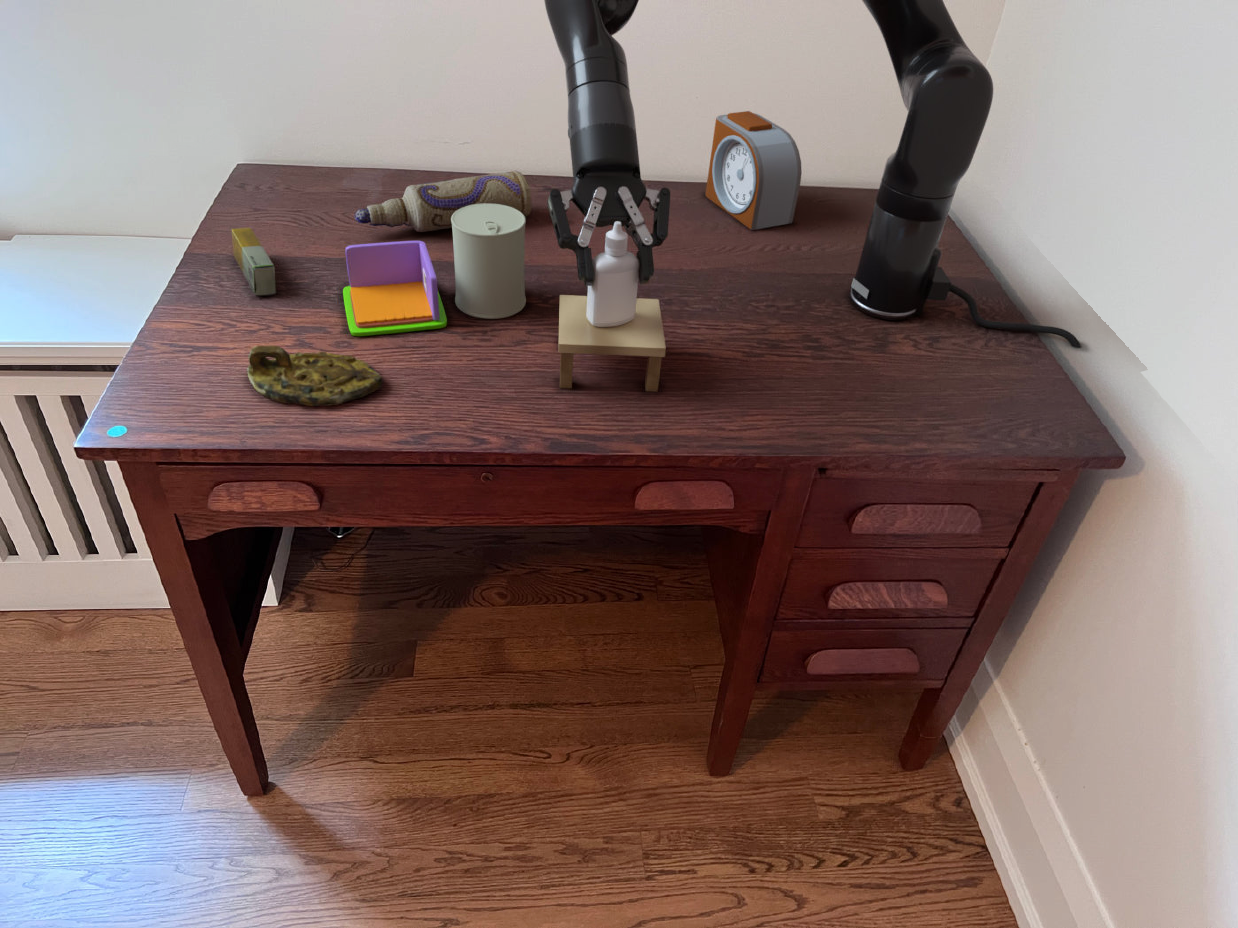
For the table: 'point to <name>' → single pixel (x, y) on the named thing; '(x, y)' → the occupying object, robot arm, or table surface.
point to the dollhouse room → (391, 289)
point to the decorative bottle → (448, 201)
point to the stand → (611, 337)
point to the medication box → (254, 262)
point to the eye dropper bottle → (613, 282)
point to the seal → (310, 376)
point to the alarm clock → (754, 170)
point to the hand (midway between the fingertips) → (617, 282)
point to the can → (489, 260)
